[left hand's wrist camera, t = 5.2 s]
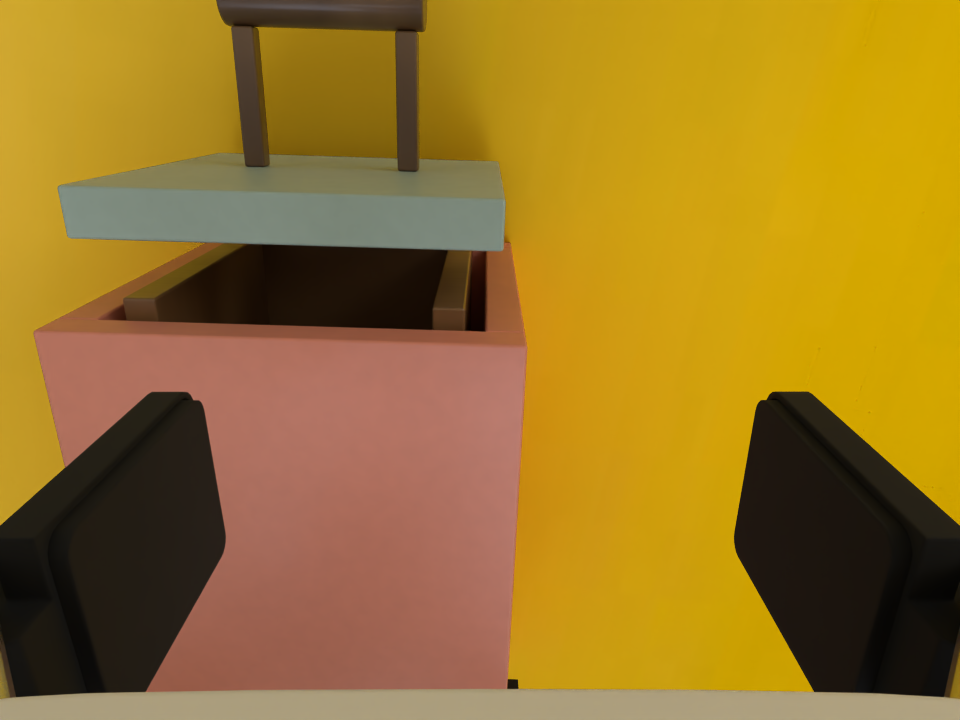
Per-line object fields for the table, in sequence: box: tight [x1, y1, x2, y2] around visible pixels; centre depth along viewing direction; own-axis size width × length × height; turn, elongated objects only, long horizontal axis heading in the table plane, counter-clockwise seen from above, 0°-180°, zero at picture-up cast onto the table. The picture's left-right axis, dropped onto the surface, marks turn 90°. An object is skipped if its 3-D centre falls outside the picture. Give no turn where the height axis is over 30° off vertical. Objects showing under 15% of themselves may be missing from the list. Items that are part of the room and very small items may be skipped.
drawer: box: [58, 0, 506, 331], centre depth 22 cm, size 25×10×10 cm, turn 178°
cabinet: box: [34, 243, 527, 692], centre depth 24 cm, size 21×11×12 cm, turn 178°
